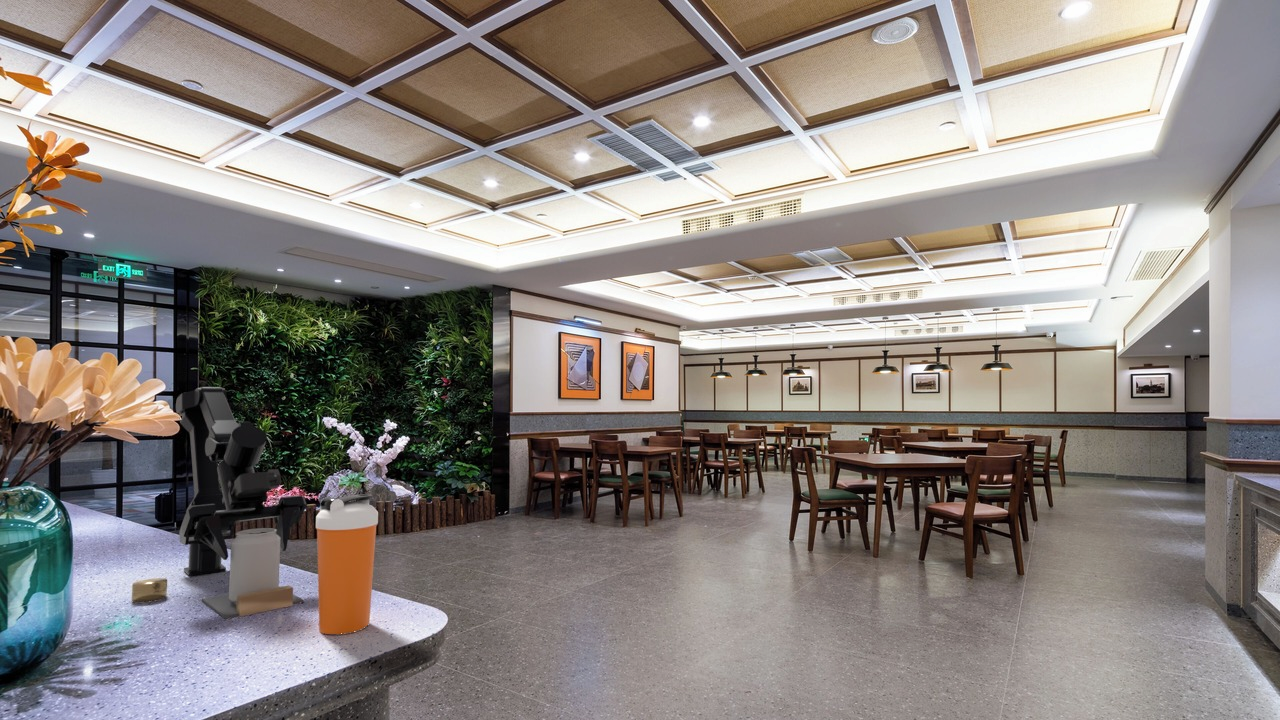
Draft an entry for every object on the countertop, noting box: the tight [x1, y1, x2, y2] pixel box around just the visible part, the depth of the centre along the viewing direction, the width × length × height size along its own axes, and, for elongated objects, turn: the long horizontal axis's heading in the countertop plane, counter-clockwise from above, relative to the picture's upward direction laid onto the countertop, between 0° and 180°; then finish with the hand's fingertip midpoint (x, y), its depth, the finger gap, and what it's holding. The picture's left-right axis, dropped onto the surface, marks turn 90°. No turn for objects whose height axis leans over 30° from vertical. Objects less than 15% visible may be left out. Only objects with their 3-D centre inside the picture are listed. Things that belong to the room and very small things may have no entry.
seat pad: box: [201, 593, 305, 620], centre depth 115 cm, size 14×12×1 cm
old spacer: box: [131, 577, 168, 603], centre depth 117 cm, size 5×5×3 cm
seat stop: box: [236, 585, 294, 617], centre depth 110 cm, size 2×8×3 cm, turn 137°
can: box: [228, 527, 281, 604], centre depth 114 cm, size 8×8×12 cm
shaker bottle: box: [315, 493, 379, 635], centre depth 102 cm, size 9×9×20 cm
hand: (256, 553), depth 114 cm, fingers open, 9 cm apart
